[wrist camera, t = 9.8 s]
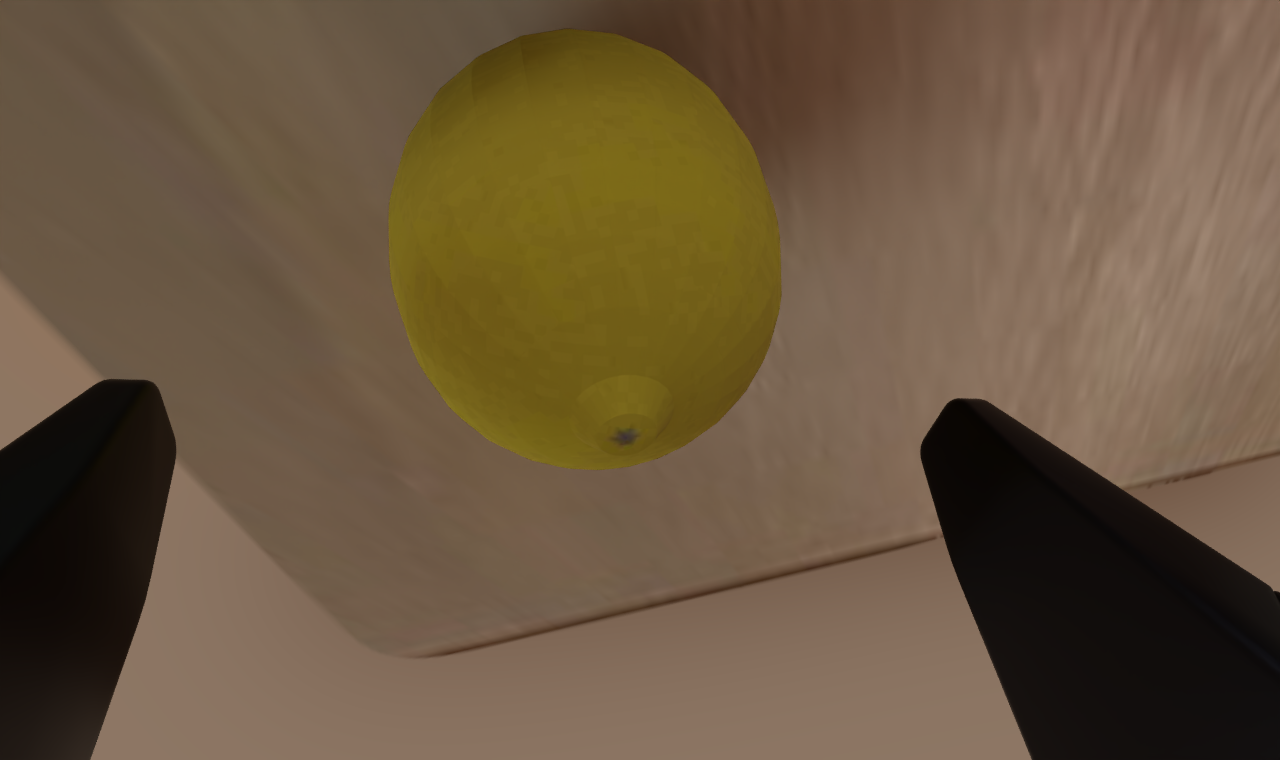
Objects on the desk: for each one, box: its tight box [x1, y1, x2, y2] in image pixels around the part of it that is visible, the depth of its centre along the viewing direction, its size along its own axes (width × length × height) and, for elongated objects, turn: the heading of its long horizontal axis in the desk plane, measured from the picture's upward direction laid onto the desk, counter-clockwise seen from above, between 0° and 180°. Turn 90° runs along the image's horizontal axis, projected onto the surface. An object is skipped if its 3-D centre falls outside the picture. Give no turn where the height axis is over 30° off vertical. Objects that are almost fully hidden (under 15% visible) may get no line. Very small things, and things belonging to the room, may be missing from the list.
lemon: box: [389, 29, 781, 470], centre depth 11 cm, size 6×6×8 cm
